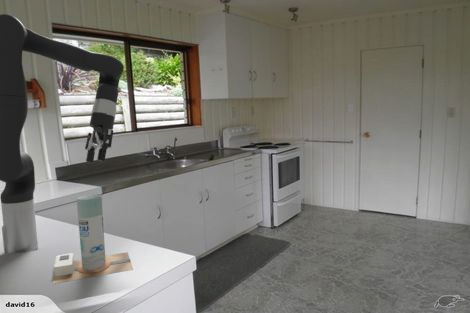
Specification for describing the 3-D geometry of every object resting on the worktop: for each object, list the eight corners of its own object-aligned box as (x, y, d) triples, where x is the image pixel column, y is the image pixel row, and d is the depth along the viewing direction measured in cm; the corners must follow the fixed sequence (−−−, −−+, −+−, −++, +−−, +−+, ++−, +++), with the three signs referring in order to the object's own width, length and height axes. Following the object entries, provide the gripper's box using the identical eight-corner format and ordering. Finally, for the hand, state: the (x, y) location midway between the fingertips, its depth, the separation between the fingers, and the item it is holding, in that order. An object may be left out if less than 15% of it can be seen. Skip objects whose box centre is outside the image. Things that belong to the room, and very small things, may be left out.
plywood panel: (53, 289, 91) (52, 283, 91) (57, 268, 104) (57, 262, 104) (133, 274, 99) (133, 268, 99) (128, 256, 112) (127, 251, 112)
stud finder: (72, 273, 97) (72, 263, 97) (54, 276, 95) (54, 266, 95) (73, 261, 105) (73, 252, 105) (57, 264, 104) (56, 255, 103)
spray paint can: (110, 264, 102) (105, 196, 100) (88, 272, 97) (83, 201, 95) (99, 258, 106) (94, 193, 104) (77, 266, 101) (72, 197, 99)
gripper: (83, 114, 123) (74, 160, 120) (102, 108, 113) (93, 157, 110) (104, 121, 128) (96, 165, 125) (124, 115, 118) (115, 162, 115)
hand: (95, 161), depth 117 cm, fingers open, 8 cm apart
